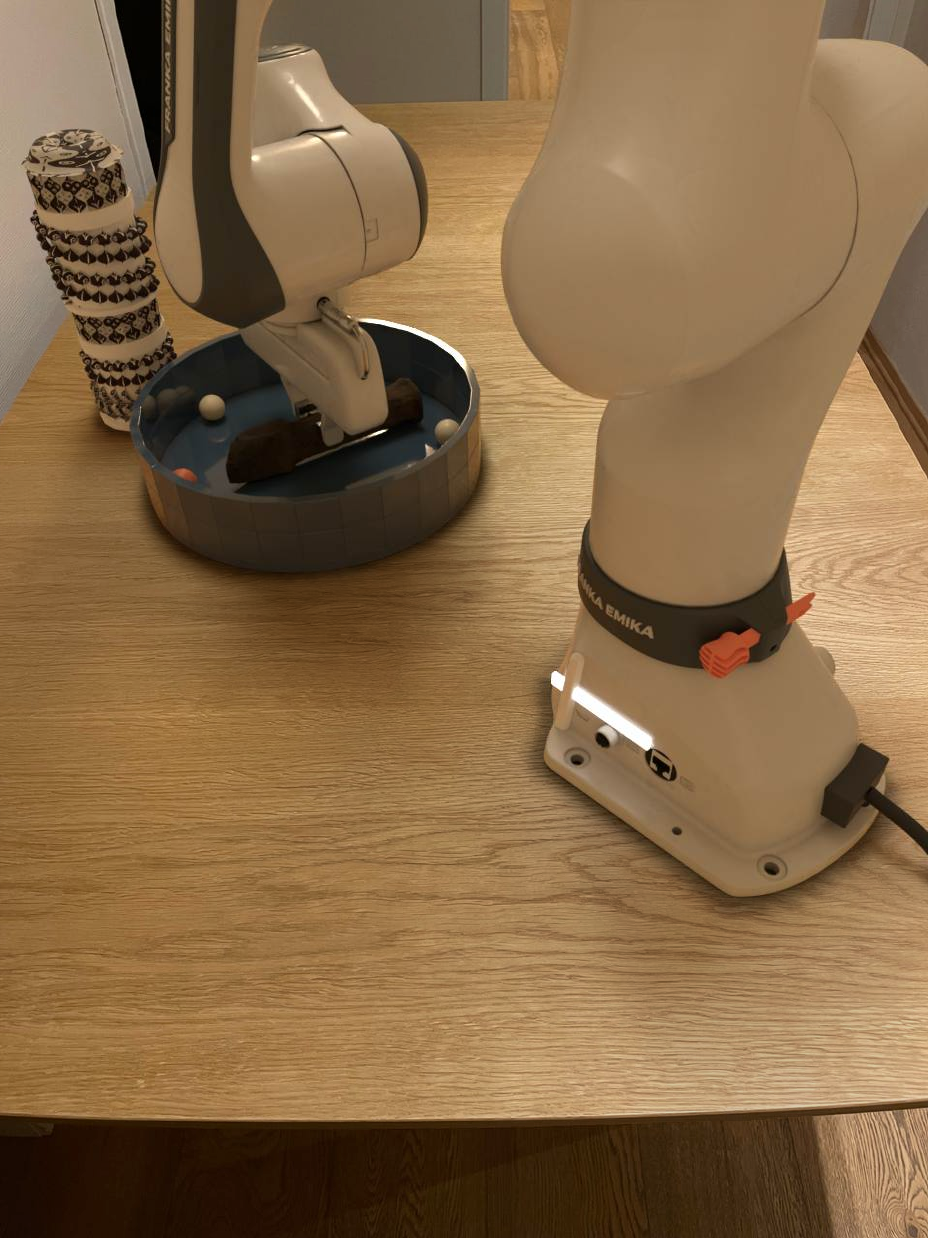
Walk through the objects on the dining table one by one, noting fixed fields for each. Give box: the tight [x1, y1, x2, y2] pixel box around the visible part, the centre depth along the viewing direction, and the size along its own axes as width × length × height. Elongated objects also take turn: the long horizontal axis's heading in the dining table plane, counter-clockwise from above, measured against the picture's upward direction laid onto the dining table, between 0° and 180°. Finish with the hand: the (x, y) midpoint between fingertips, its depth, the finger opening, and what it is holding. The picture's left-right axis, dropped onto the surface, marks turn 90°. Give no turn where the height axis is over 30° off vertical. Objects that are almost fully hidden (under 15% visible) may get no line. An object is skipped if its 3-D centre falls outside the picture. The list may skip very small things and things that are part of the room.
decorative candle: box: [20, 128, 178, 432], centre depth 87 cm, size 9×9×25 cm
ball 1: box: [174, 469, 197, 483], centre depth 83 cm, size 2×2×2 cm
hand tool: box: [226, 378, 424, 484], centre depth 86 cm, size 19×4×5 cm, turn 122°
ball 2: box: [199, 395, 225, 421], centre depth 91 cm, size 2×2×2 cm
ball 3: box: [435, 419, 460, 445], centre depth 87 cm, size 2×2×2 cm
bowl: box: [129, 316, 482, 574], centre depth 86 cm, size 30×30×7 cm
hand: (318, 429), depth 86 cm, fingers closed on hand tool, 3 cm apart
